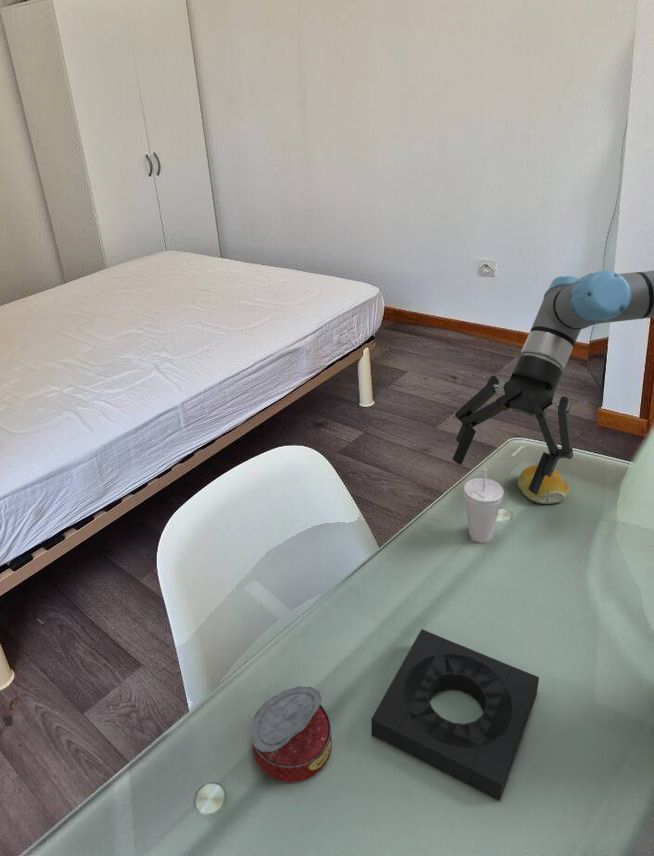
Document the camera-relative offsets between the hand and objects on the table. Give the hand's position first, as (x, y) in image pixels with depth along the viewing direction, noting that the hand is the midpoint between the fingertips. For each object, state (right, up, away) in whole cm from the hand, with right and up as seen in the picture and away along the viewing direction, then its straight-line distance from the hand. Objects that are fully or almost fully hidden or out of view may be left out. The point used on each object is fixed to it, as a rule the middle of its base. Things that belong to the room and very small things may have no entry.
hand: (493, 476), depth 114 cm
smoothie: (-1, -11, +2) cm, 11 cm away
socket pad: (-13, -25, -27) cm, 39 cm away
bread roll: (+13, -5, +12) cm, 18 cm away
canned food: (-34, -28, -29) cm, 53 cm away
